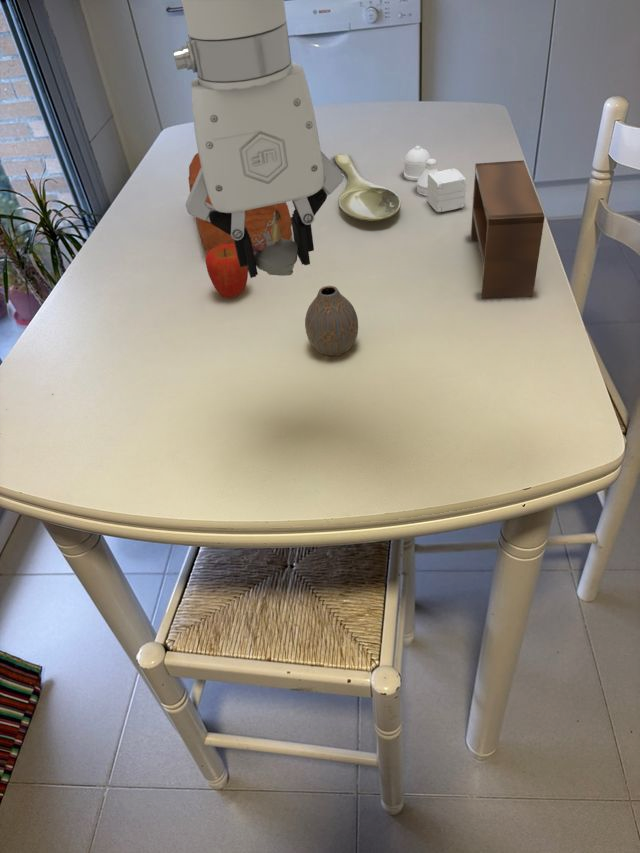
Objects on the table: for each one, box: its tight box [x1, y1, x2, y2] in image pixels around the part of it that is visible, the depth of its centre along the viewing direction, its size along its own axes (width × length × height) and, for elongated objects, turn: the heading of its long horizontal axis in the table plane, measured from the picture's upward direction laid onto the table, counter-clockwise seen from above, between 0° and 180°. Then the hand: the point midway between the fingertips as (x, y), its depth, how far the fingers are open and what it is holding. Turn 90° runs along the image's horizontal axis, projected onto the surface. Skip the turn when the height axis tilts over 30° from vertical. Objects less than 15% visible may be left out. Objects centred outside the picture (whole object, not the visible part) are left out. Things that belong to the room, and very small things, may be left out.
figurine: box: [252, 210, 298, 277], centre depth 61 cm, size 5×4×6 cm
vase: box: [304, 285, 359, 357], centre depth 84 cm, size 7×7×9 cm
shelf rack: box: [470, 160, 546, 299], centre depth 94 cm, size 7×18×12 cm, turn 176°
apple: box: [205, 244, 249, 299], centre depth 97 cm, size 6×6×8 cm
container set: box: [403, 145, 467, 213], centre depth 117 cm, size 20×5×6 cm, turn 13°
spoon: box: [333, 153, 402, 222], centre depth 121 cm, size 35×11×2 cm, turn 10°
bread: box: [188, 152, 293, 254], centre depth 113 cm, size 16×27×11 cm, turn 14°
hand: (277, 262), depth 63 cm, fingers closed on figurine, 4 cm apart
